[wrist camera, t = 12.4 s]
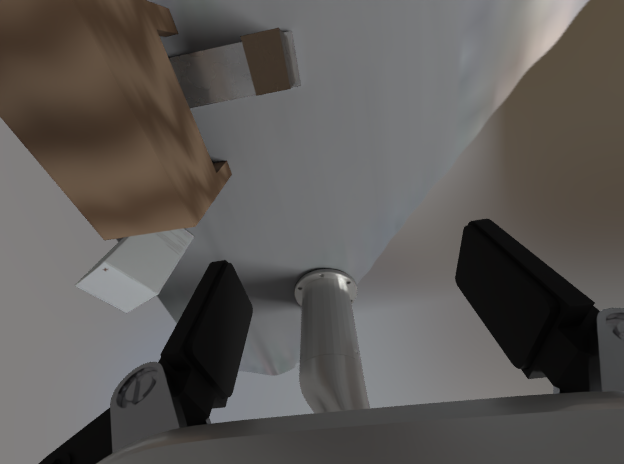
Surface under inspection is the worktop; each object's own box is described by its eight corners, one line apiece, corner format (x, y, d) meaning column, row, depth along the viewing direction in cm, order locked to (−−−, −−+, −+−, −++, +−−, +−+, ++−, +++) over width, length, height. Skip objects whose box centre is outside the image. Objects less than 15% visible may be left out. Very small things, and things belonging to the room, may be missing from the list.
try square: (301, 85, 29) (297, 94, 21) (114, 122, 31) (44, 144, 23) (292, 31, 26) (283, 17, 18) (87, 77, 28) (-4, 83, 20)
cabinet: (231, 174, 35) (195, 226, 24) (167, 185, 36) (104, 240, 25) (164, -2, 24) (42, -55, 13) (75, 20, 25) (-109, -12, 14)
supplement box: (131, 228, 40) (70, 285, 30) (159, 206, 38) (102, 260, 28) (169, 255, 44) (125, 315, 34) (196, 237, 41) (158, 295, 31)
